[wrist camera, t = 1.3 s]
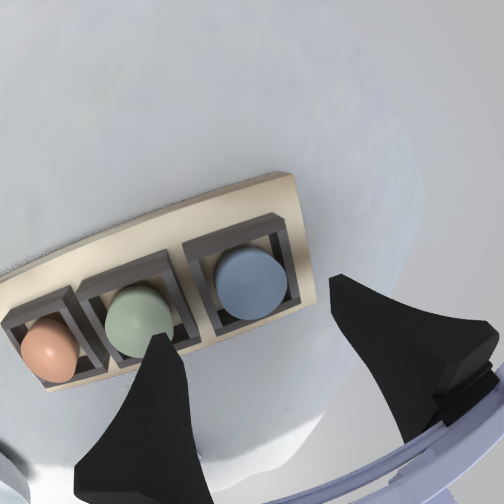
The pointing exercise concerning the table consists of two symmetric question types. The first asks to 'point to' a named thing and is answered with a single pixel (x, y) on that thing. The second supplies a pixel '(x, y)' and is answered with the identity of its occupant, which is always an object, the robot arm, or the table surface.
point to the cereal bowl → (12, 483)
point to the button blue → (249, 282)
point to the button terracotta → (50, 350)
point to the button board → (162, 273)
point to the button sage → (137, 319)
